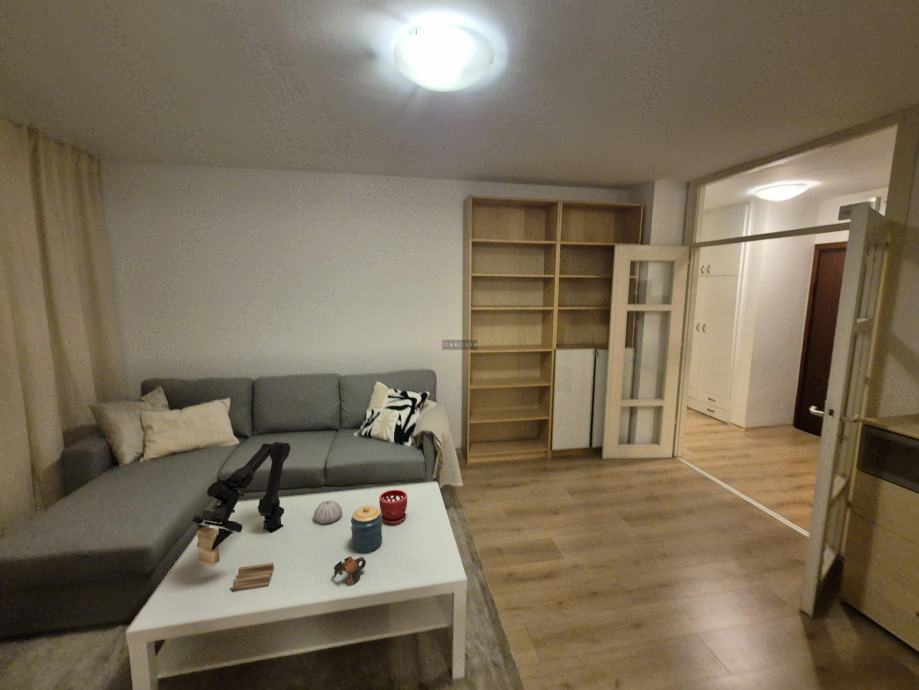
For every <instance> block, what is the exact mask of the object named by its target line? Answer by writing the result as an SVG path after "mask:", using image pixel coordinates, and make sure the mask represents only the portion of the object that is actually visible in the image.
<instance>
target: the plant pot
mask: <svg viewBox="0 0 919 690" xmlns="http://www.w3.org/2000/svg"><path fill="white" fill-rule="evenodd" d="M392 496H393V497H392ZM397 497H398V498H399V500H398V499H397ZM393 500H394V501H393ZM378 501H379V511H380V514H381V515H382V520H381V521H383V522H384V523H385V524H388V525H396V524H400V523H402V522H403V521H404V520H405V519H406V516H407V513H406V511H407V506H408V494H407V492H405V491H404V490H402V489H390V490H385V491H384V492H382V493H381V494H380V495H379V499H378Z"/></svg>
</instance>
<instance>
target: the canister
mask: <svg viewBox="0 0 919 690" xmlns="http://www.w3.org/2000/svg"><path fill="white" fill-rule="evenodd" d="M382 521H383V520H382V513H381V510H380V508H378V507H376V506H373V505H367V504H366V505H364V506H360V507H359V508H357V509H355V511H354V512H353V514H352V516H351V518H350V523H351V526H350V529H351V547H352V549H353V551H355V552H358V553H360V554H368V553H373V552H374V551H376V550H378V549H379V548H380V547H381V546H382V542H383V533H382V532H383V530H382V527H383V523H382Z"/></svg>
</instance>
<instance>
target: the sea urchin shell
mask: <svg viewBox="0 0 919 690" xmlns="http://www.w3.org/2000/svg"><path fill="white" fill-rule="evenodd" d="M342 515H343V508H342V507H341V505H340V504H339V503H338V502H337V501H334V500H324V501H322V502H320V504H318V506H317V507H316V508H315V510H314V512H313V517H312V518H313V519H314V521H316V522H318V523H320V524H329V523H332V522H334V521H335V522H336V520H337V521H338V519H340V518H341V517H342Z"/></svg>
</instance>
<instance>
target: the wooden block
mask: <svg viewBox="0 0 919 690" xmlns="http://www.w3.org/2000/svg"><path fill="white" fill-rule="evenodd" d="M217 535H218V528H213V527H203V528H201V529H200V530H199V529H198V530H196V536H197V544H198V547H197V548H198V559H199V564H201V565H205V566H209V567H214V566H216V565H217V564H218V563H219V562H220V550H219V549H220V548H219V546H220V545H218V546H217V547H216V548H215V549H214V550H212V549H211V548H212V546H213V543H214V541H215V539H216V537H217Z"/></svg>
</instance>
